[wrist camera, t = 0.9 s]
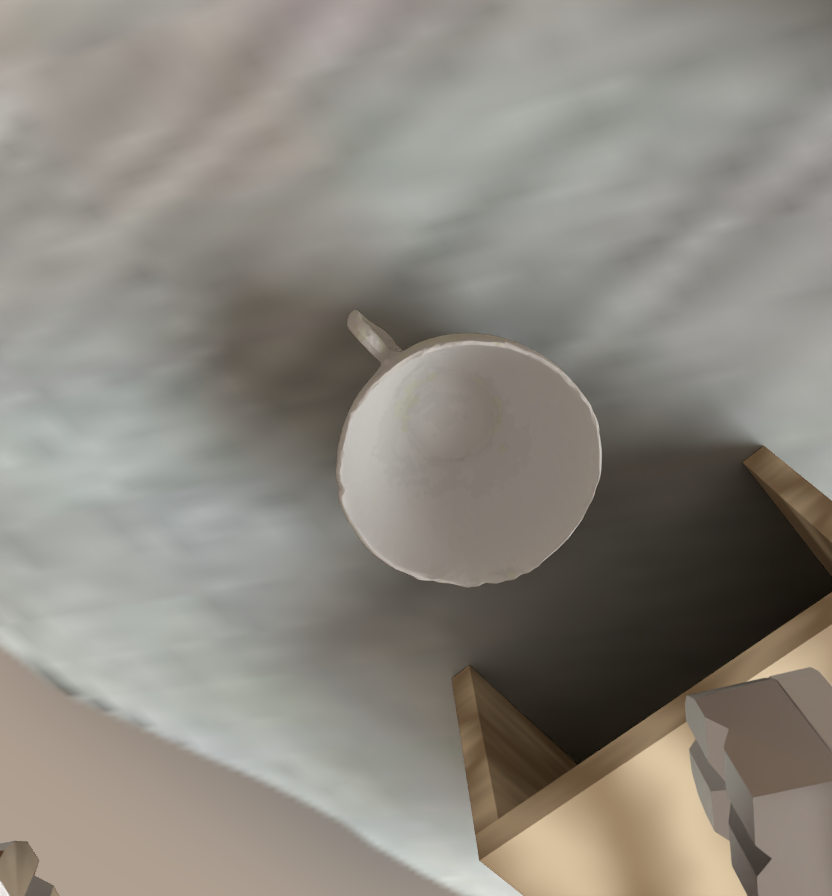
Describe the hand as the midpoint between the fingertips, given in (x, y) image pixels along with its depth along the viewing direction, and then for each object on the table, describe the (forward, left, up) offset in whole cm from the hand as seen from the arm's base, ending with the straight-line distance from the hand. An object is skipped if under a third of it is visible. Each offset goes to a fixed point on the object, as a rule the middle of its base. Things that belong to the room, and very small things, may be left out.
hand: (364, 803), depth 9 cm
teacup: (+1, +7, -34) cm, 34 cm away
